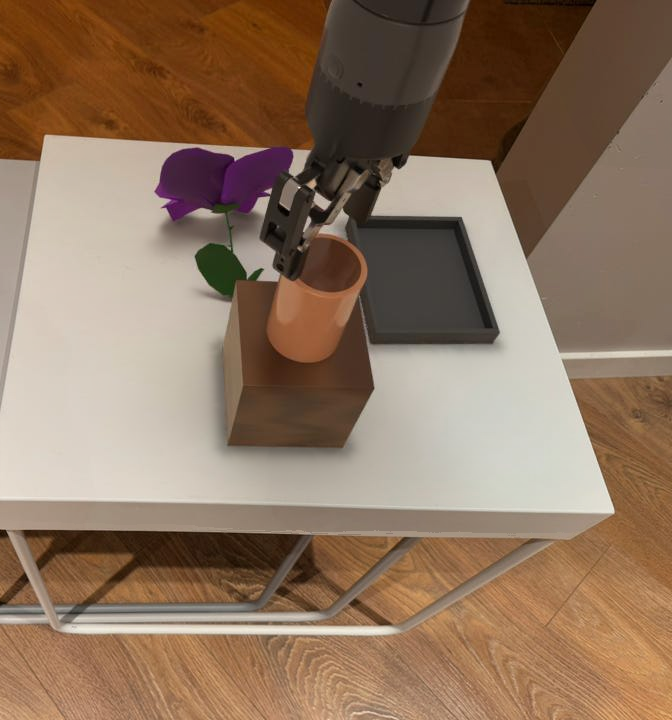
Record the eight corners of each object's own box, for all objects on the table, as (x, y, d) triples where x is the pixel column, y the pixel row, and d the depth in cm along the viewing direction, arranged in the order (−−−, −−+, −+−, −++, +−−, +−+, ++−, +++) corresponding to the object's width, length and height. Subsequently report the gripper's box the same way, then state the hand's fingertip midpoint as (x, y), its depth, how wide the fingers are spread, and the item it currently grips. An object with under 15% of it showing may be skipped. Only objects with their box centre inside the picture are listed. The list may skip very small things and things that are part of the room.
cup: (354, 333, 67) (384, 266, 59) (308, 376, 64) (333, 311, 56) (297, 290, 69) (319, 220, 61) (250, 330, 66) (267, 262, 58)
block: (329, 351, 79) (356, 283, 70) (342, 447, 73) (375, 388, 64) (222, 348, 78) (236, 279, 69) (227, 445, 72) (243, 385, 63)
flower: (286, 299, 89) (266, 185, 89) (332, 272, 74) (308, 136, 75) (161, 316, 86) (143, 198, 87) (183, 292, 71) (160, 150, 72)
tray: (492, 343, 81) (500, 332, 79) (370, 343, 80) (375, 332, 78) (455, 228, 90) (462, 216, 88) (345, 227, 89) (349, 214, 87)
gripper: (360, 147, 41) (300, 324, 55) (498, 42, 47) (414, 224, 61) (255, 78, 44) (223, 264, 57) (399, -14, 50) (339, 173, 63)
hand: (321, 243), depth 59 cm, fingers open, 8 cm apart
